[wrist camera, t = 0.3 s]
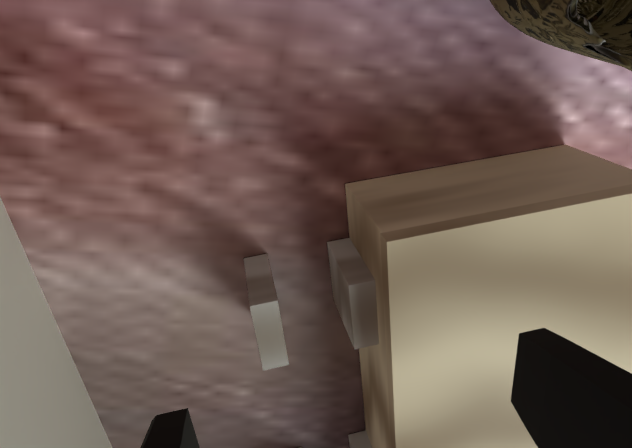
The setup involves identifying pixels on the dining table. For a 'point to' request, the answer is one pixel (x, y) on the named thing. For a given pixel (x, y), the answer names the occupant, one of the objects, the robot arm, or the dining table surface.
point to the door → (37, 364)
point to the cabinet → (469, 288)
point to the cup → (576, 25)
